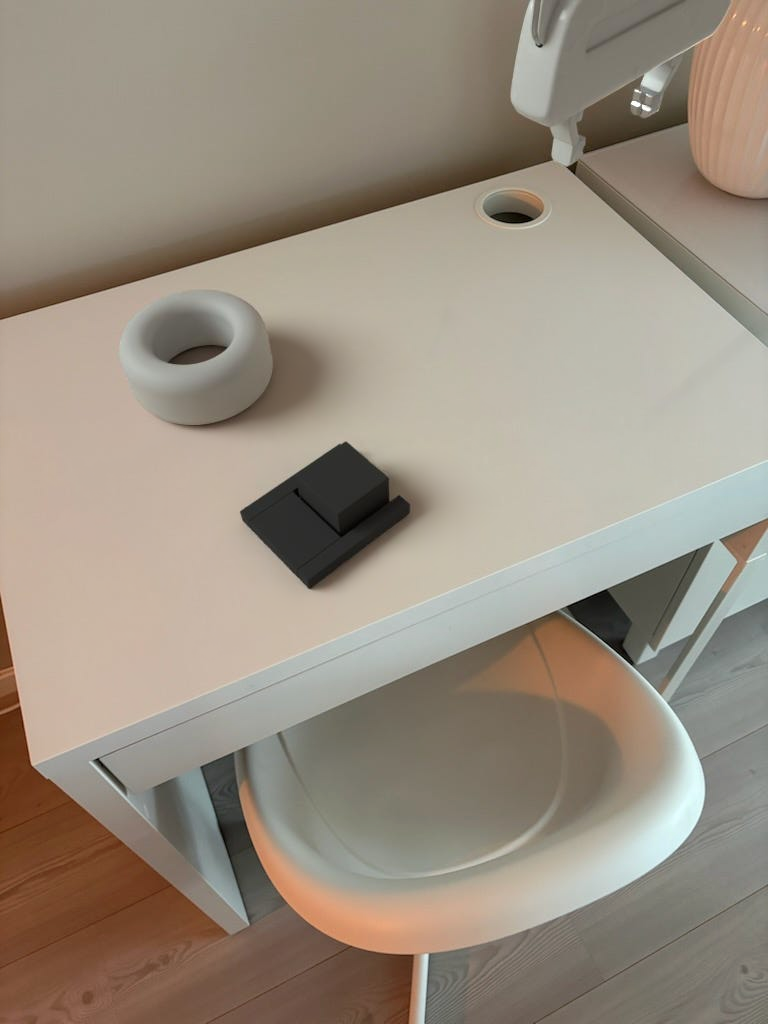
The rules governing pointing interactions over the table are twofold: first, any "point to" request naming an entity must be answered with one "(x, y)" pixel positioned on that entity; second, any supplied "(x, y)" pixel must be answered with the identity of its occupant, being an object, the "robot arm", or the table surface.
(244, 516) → the base pad
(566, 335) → the table surface
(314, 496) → the black block
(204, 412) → the thick torus
